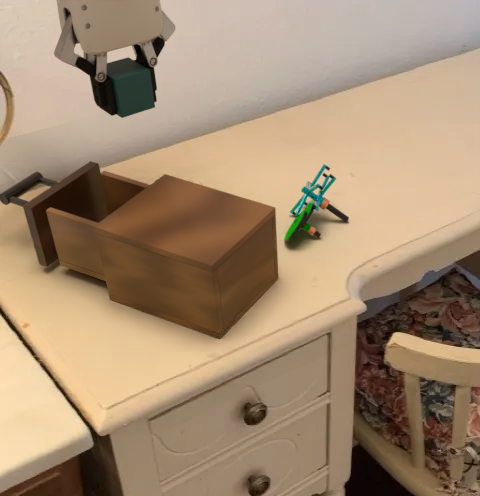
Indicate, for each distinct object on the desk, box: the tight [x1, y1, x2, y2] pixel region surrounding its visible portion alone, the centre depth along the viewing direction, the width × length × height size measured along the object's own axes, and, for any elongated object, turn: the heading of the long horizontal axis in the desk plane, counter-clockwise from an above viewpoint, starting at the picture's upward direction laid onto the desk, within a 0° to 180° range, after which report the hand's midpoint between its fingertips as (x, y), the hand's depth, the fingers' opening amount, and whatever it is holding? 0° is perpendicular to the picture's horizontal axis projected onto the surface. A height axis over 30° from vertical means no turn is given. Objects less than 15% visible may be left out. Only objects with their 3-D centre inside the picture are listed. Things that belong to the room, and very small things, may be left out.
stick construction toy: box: [284, 163, 350, 243], centre depth 106 cm, size 12×7×8 cm
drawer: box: [0, 161, 150, 282], centre depth 97 cm, size 20×11×8 cm, turn 65°
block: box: [107, 57, 156, 119], centre depth 94 cm, size 4×4×4 cm
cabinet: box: [94, 173, 280, 340], centre depth 93 cm, size 15×13×10 cm
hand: (127, 103), depth 96 cm, fingers closed on block, 4 cm apart
